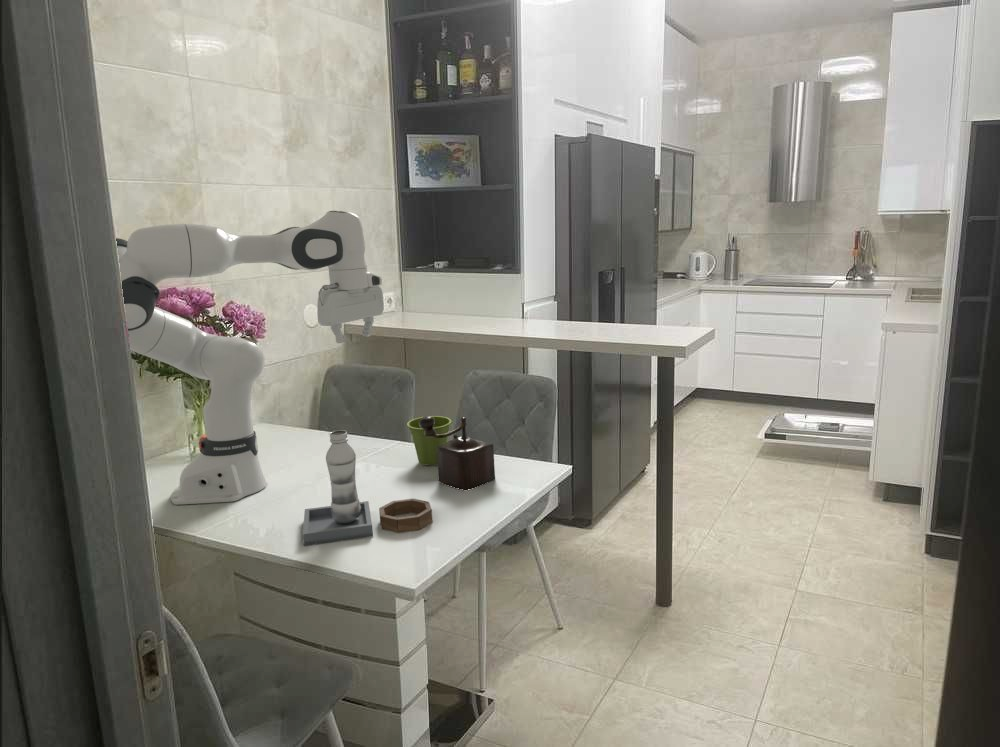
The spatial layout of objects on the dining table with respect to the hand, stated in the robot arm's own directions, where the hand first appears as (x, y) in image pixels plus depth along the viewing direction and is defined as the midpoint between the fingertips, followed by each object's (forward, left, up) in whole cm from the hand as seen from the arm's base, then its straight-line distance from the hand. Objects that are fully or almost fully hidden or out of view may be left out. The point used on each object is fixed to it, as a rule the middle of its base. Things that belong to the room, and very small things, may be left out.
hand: (354, 339), depth 177 cm
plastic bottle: (-6, -22, -36) cm, 43 cm away
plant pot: (+18, +13, -37) cm, 43 cm away
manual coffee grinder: (+22, -6, -37) cm, 44 cm away
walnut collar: (+7, -25, -37) cm, 46 cm away
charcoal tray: (-8, -24, -37) cm, 45 cm away
